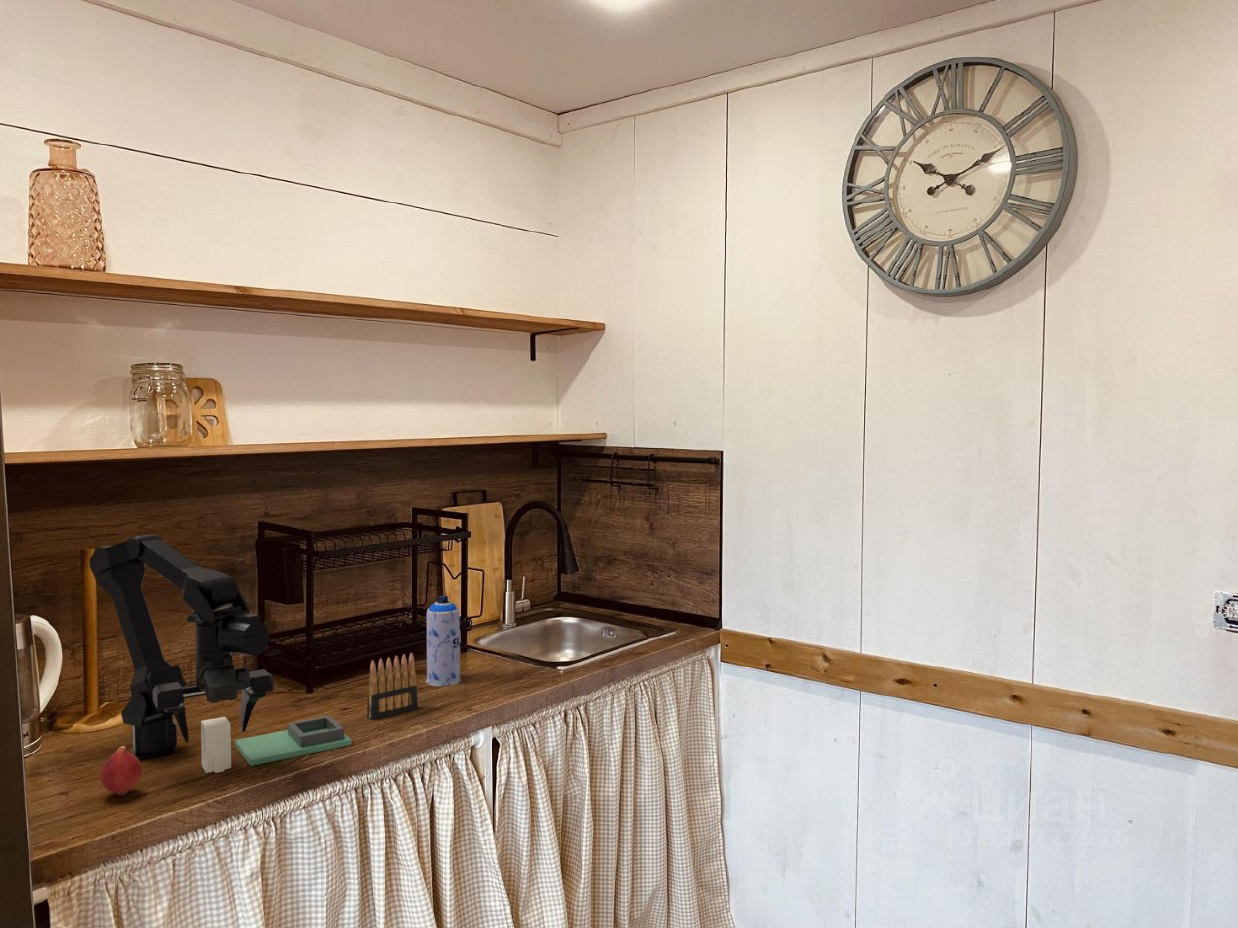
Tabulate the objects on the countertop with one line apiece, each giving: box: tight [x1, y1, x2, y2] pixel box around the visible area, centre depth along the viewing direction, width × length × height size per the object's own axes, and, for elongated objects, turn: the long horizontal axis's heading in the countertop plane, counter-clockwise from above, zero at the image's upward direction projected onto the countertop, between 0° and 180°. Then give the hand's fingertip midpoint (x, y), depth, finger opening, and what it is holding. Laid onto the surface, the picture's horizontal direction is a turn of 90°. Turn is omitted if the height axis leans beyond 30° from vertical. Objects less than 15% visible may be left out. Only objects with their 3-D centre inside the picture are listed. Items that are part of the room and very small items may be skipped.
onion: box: [100, 745, 143, 796], centre depth 145 cm, size 6×6×8 cm
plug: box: [200, 716, 232, 774], centre depth 158 cm, size 4×7×8 cm, turn 35°
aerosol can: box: [425, 594, 462, 687], centre depth 208 cm, size 8×8×20 cm
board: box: [234, 715, 353, 767], centre depth 168 cm, size 18×12×3 cm, turn 125°
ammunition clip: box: [366, 652, 419, 721], centre depth 186 cm, size 11×2×12 cm, turn 132°
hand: (215, 736), depth 157 cm, fingers open, 9 cm apart
